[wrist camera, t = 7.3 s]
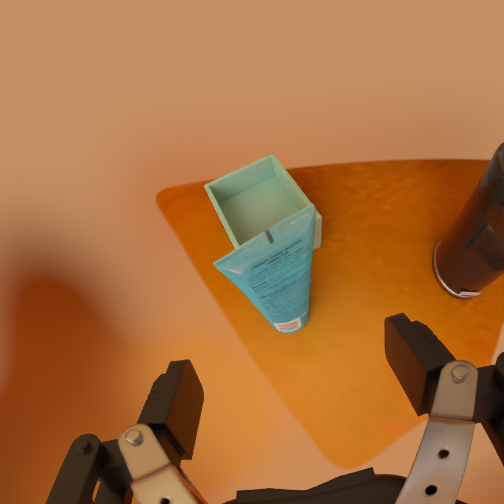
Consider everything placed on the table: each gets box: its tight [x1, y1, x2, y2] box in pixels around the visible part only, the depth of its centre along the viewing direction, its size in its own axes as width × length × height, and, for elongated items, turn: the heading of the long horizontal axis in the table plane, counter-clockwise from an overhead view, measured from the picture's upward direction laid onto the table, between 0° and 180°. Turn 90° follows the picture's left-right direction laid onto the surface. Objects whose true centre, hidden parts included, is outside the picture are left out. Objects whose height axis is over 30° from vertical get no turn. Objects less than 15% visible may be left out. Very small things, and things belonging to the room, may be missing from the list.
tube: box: [213, 204, 316, 334], centre depth 26 cm, size 7×5×19 cm, turn 125°
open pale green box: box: [204, 153, 322, 250], centre depth 38 cm, size 10×12×7 cm
